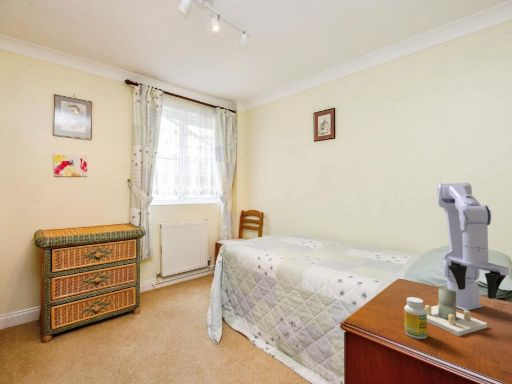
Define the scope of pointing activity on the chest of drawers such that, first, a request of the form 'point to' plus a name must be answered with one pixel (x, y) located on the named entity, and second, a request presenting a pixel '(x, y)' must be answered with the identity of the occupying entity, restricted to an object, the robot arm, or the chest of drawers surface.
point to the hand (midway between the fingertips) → (476, 293)
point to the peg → (446, 302)
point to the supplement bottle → (415, 318)
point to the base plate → (454, 321)
